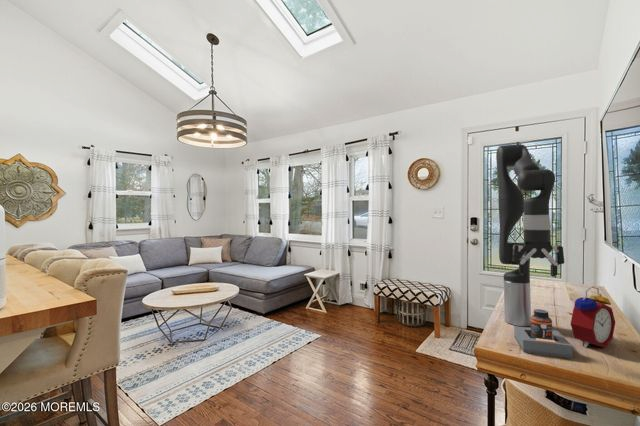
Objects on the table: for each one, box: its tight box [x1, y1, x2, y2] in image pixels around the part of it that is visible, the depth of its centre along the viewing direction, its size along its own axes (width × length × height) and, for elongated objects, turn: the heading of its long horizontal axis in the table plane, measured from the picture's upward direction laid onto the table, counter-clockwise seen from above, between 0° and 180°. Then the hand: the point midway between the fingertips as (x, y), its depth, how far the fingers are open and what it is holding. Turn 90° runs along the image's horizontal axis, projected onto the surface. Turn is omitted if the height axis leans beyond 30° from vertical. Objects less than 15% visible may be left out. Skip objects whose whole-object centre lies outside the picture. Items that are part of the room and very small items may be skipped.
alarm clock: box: [566, 286, 616, 349], centre depth 104 cm, size 15×9×20 cm, turn 114°
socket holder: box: [513, 325, 574, 359], centre depth 102 cm, size 13×13×4 cm
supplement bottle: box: [530, 308, 553, 340], centre depth 102 cm, size 6×6×11 cm
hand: (537, 275), depth 102 cm, fingers open, 8 cm apart
